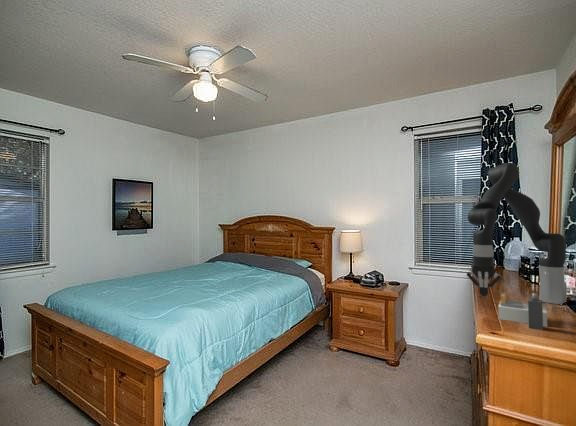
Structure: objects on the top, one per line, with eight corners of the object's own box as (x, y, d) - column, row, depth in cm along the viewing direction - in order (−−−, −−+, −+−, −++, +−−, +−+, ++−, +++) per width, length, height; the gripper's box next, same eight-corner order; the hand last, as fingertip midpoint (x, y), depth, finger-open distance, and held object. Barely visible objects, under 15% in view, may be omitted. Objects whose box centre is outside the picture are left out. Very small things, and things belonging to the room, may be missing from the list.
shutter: (501, 301, 130) (501, 292, 130) (522, 304, 126) (522, 294, 126) (500, 305, 125) (500, 295, 125) (522, 308, 120) (522, 298, 121)
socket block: (499, 312, 132) (499, 301, 132) (545, 319, 123) (545, 306, 123) (498, 319, 124) (498, 306, 124) (547, 326, 115) (546, 312, 115)
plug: (528, 325, 116) (527, 291, 117) (542, 327, 114) (541, 293, 114) (529, 328, 113) (528, 293, 114) (543, 330, 111) (542, 295, 111)
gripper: (464, 255, 133) (465, 295, 132) (501, 257, 125) (502, 300, 124) (466, 253, 139) (467, 292, 138) (502, 255, 131) (503, 296, 130)
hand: (484, 295), depth 131 cm, fingers closed
